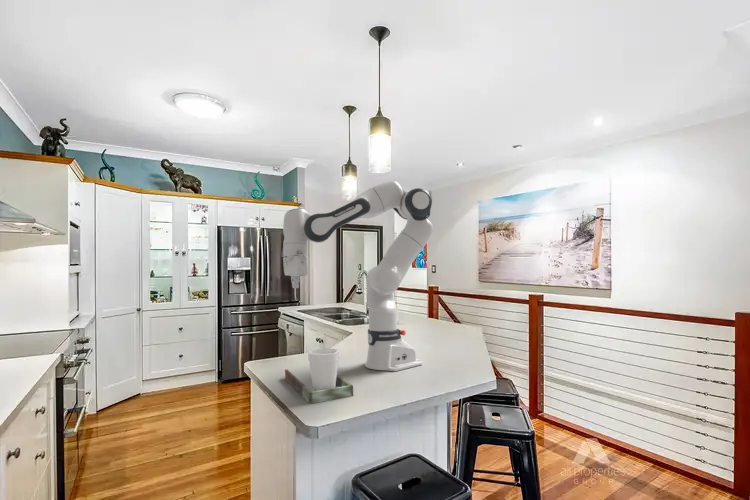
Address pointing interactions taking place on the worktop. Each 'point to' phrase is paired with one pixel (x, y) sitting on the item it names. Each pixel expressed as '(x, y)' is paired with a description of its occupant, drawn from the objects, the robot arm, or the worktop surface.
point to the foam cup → (323, 367)
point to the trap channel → (321, 395)
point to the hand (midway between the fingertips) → (295, 288)
